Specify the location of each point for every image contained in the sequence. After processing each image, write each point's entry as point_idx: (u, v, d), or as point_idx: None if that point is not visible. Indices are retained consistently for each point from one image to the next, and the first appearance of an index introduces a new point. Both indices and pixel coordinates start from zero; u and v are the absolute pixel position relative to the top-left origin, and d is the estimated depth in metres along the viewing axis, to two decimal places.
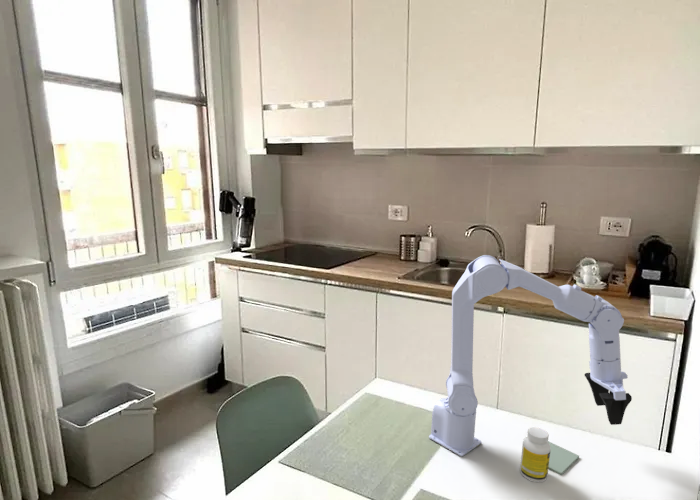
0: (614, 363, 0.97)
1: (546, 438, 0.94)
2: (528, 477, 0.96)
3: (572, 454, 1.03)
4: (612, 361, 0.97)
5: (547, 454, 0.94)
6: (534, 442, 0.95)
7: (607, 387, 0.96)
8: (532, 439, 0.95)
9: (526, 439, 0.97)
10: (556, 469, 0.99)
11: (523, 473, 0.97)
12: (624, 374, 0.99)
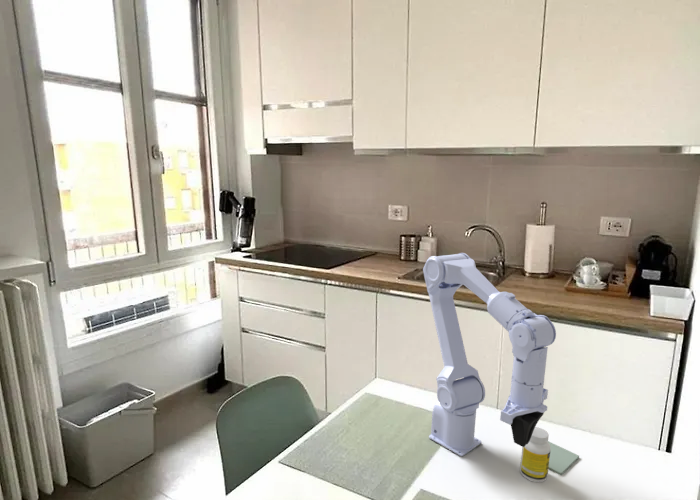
0: (524, 387, 0.86)
1: (546, 438, 0.94)
2: (528, 477, 0.96)
3: (572, 454, 1.03)
4: (522, 384, 0.86)
5: (547, 454, 0.94)
6: (534, 442, 0.95)
7: (505, 406, 0.87)
8: (532, 439, 0.95)
9: None
10: (556, 469, 0.99)
11: (523, 473, 0.97)
12: (542, 408, 0.86)
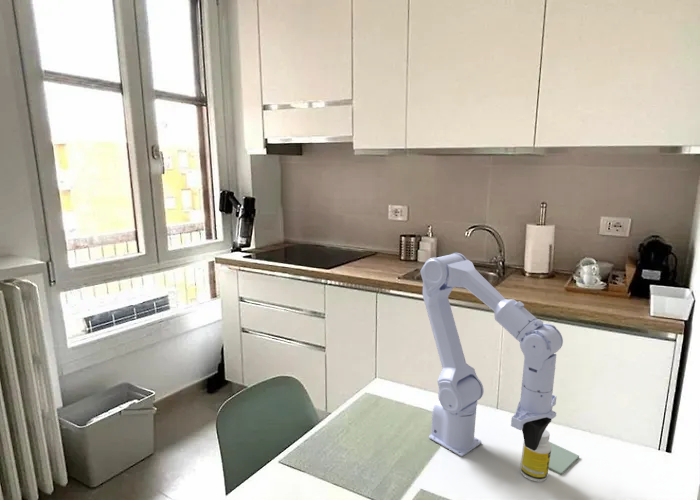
0: (534, 394, 0.89)
1: (547, 437, 0.94)
2: (528, 476, 0.96)
3: (572, 454, 1.03)
4: (532, 391, 0.90)
5: (548, 453, 0.94)
6: None
7: None
8: None
9: None
10: (556, 469, 0.99)
11: (523, 472, 0.97)
12: (551, 414, 0.90)
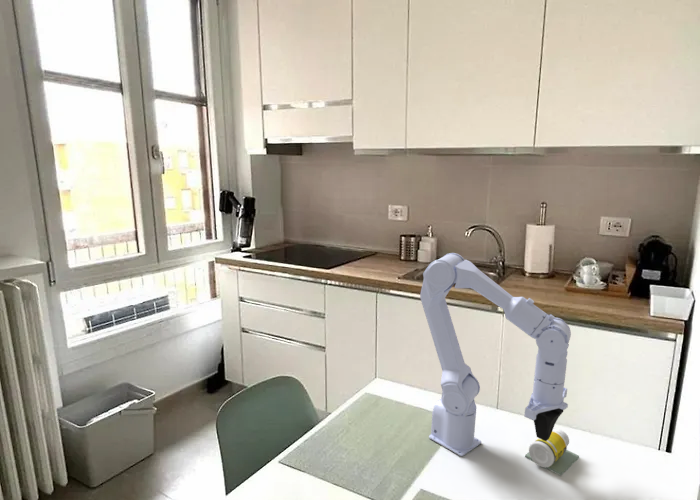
0: (546, 386, 0.93)
1: (568, 440, 1.04)
2: (543, 443, 0.99)
3: (572, 454, 1.03)
4: (544, 383, 0.93)
5: (565, 446, 1.01)
6: (558, 433, 1.04)
7: (528, 404, 0.94)
8: (558, 431, 1.04)
9: None
10: (556, 469, 0.99)
11: (538, 440, 1.00)
12: (563, 405, 0.93)
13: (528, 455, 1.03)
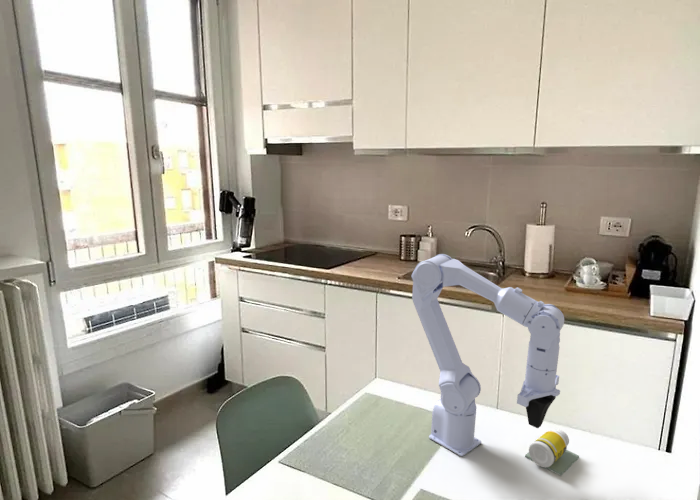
0: (539, 372, 0.92)
1: (568, 440, 1.04)
2: (543, 443, 0.99)
3: (572, 454, 1.03)
4: (537, 369, 0.92)
5: (565, 446, 1.01)
6: (558, 433, 1.04)
7: (521, 391, 0.93)
8: (558, 431, 1.04)
9: None
10: (556, 469, 0.99)
11: (538, 440, 1.00)
12: (555, 391, 0.93)
13: (528, 455, 1.03)
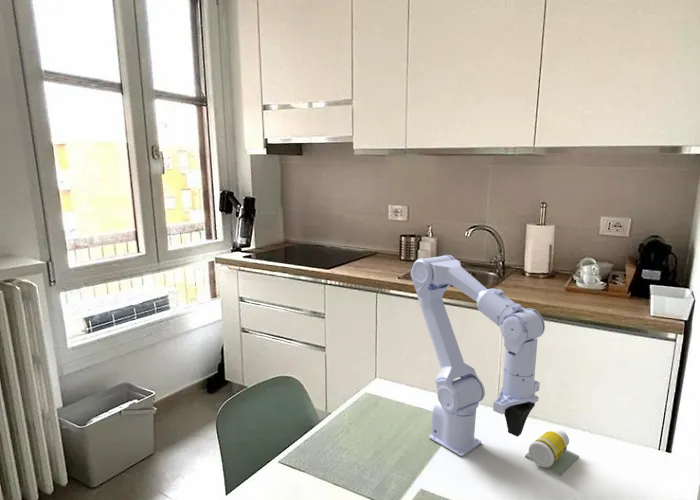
0: (515, 378, 0.89)
1: (568, 440, 1.04)
2: (543, 443, 0.99)
3: (572, 454, 1.03)
4: (513, 375, 0.90)
5: (565, 446, 1.01)
6: (558, 433, 1.04)
7: (498, 397, 0.90)
8: (558, 431, 1.04)
9: None
10: (556, 469, 0.99)
11: (538, 440, 1.00)
12: (533, 398, 0.90)
13: (528, 455, 1.03)
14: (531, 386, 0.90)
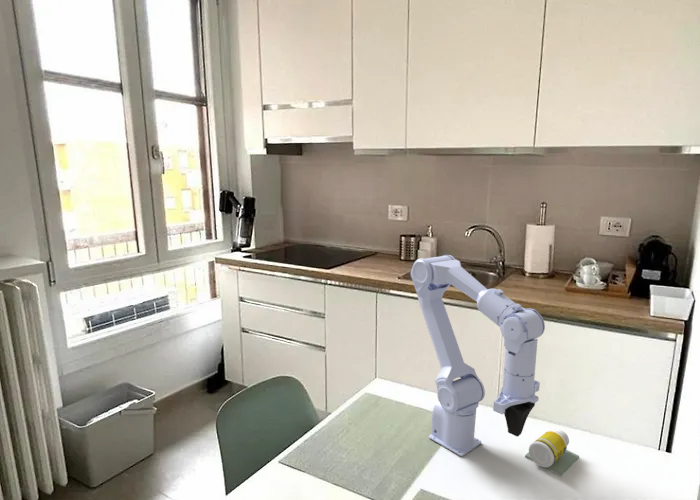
0: (515, 378, 0.89)
1: (568, 440, 1.04)
2: (543, 443, 0.99)
3: (572, 454, 1.03)
4: (513, 375, 0.90)
5: (565, 446, 1.01)
6: (558, 433, 1.04)
7: (498, 397, 0.90)
8: (558, 431, 1.04)
9: None
10: (556, 469, 0.99)
11: (538, 440, 1.00)
12: (533, 398, 0.90)
13: (528, 455, 1.03)
14: (531, 386, 0.90)
